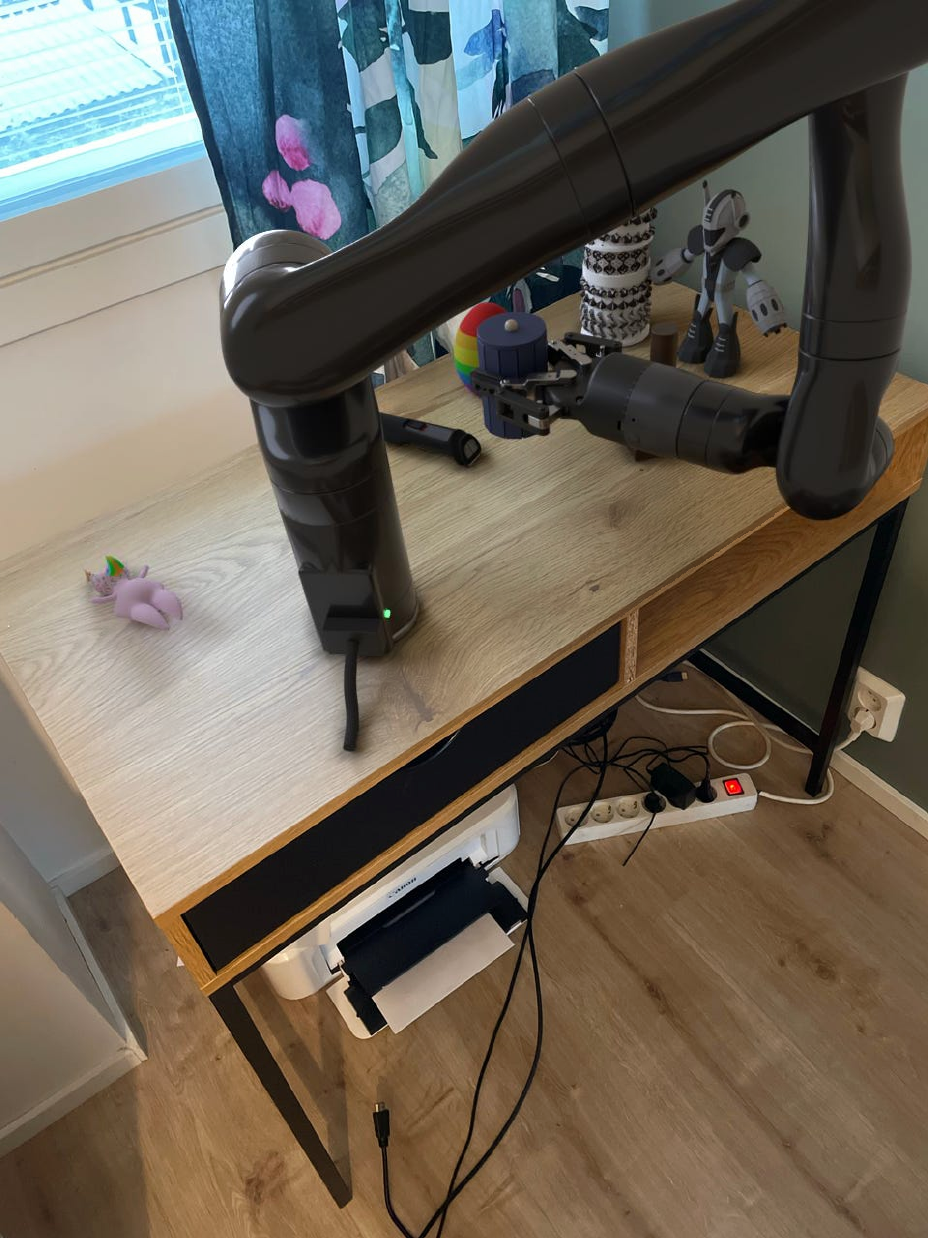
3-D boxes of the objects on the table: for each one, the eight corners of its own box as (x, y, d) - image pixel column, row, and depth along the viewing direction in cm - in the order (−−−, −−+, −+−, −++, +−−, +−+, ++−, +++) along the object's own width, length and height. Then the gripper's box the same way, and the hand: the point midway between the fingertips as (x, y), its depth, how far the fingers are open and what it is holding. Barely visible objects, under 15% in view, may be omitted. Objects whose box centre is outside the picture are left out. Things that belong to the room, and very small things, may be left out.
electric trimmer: (369, 420, 103) (363, 396, 101) (484, 450, 96) (481, 425, 94) (349, 438, 101) (343, 414, 99) (466, 470, 94) (462, 445, 92)
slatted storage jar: (546, 439, 87) (543, 336, 79) (481, 439, 88) (471, 338, 80) (551, 403, 91) (548, 302, 84) (489, 403, 92) (480, 304, 85)
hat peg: (709, 445, 93) (721, 339, 84) (635, 461, 92) (639, 356, 84) (680, 405, 98) (688, 302, 90) (610, 420, 98) (612, 317, 89)
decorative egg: (535, 395, 103) (531, 313, 96) (466, 410, 102) (457, 329, 95) (516, 360, 109) (511, 281, 101) (451, 374, 108) (441, 295, 101)
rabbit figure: (81, 604, 88) (153, 659, 78) (51, 556, 84) (121, 606, 74) (136, 570, 91) (211, 618, 81) (109, 521, 87) (184, 566, 77)
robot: (789, 386, 99) (822, 199, 85) (757, 402, 97) (786, 215, 83) (666, 324, 111) (677, 151, 97) (636, 337, 109) (642, 165, 95)
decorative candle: (667, 335, 109) (682, 109, 91) (599, 356, 107) (600, 130, 89) (630, 305, 115) (637, 88, 97) (565, 324, 113) (560, 107, 96)
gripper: (690, 330, 80) (533, 292, 87) (606, 410, 72) (443, 360, 80) (683, 403, 85) (536, 361, 93) (605, 485, 77) (452, 431, 85)
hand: (494, 361), depth 86 cm, fingers closed on slatted storage jar, 6 cm apart
